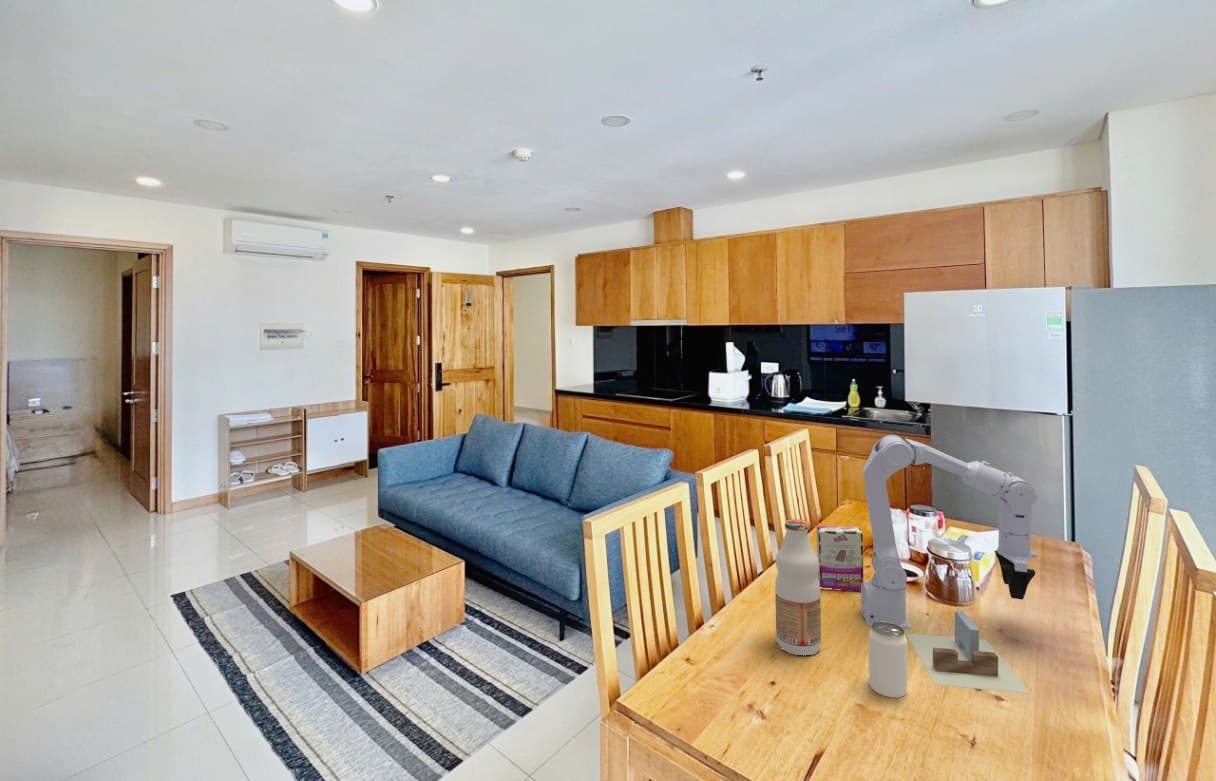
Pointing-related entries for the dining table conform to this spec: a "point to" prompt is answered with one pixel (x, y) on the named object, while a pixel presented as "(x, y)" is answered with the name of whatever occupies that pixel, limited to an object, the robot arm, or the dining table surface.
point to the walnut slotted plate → (965, 662)
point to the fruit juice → (798, 592)
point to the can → (888, 659)
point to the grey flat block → (966, 634)
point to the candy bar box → (840, 557)
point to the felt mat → (925, 652)
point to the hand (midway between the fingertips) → (1013, 590)
